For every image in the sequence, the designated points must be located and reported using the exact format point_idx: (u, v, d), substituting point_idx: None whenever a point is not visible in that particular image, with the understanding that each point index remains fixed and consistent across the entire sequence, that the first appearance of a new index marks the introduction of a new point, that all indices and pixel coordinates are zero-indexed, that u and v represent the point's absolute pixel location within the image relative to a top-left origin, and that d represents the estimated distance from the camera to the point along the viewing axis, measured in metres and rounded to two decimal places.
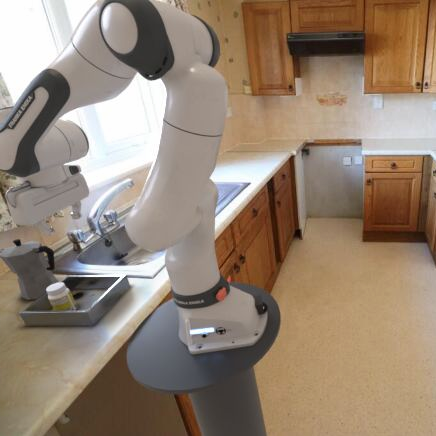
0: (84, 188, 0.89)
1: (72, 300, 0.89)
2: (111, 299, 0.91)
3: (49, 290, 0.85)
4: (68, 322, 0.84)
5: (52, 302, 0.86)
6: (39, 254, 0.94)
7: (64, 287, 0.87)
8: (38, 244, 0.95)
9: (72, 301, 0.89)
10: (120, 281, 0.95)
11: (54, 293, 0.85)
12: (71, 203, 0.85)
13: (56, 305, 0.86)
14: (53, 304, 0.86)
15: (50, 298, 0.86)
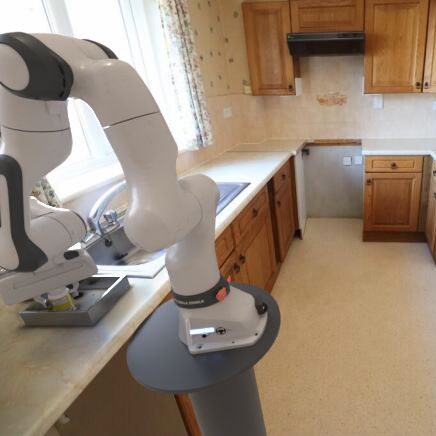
0: (90, 268, 0.90)
1: (72, 300, 0.89)
2: (111, 299, 0.91)
3: None
4: (68, 322, 0.84)
5: (52, 302, 0.86)
6: None
7: (64, 287, 0.87)
8: None
9: (72, 301, 0.89)
10: (120, 281, 0.95)
11: (54, 293, 0.85)
12: (68, 283, 0.87)
13: (56, 305, 0.86)
14: (53, 304, 0.86)
15: (50, 298, 0.86)
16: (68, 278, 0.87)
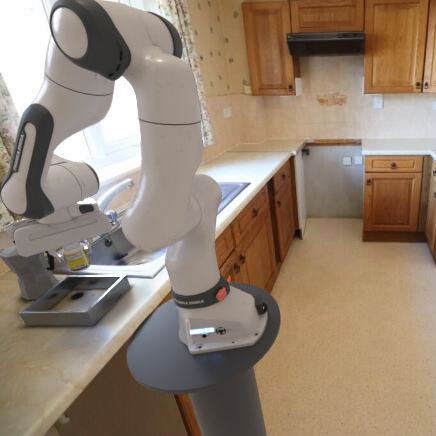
0: (104, 224, 0.89)
1: (86, 257, 0.89)
2: (111, 299, 0.91)
3: None
4: (68, 322, 0.84)
5: (66, 257, 0.86)
6: (39, 254, 0.94)
7: (78, 242, 0.87)
8: None
9: (86, 258, 0.89)
10: (120, 281, 0.95)
11: (69, 248, 0.85)
12: (82, 238, 0.87)
13: (70, 260, 0.86)
14: (67, 259, 0.86)
15: (65, 253, 0.85)
16: (83, 233, 0.86)
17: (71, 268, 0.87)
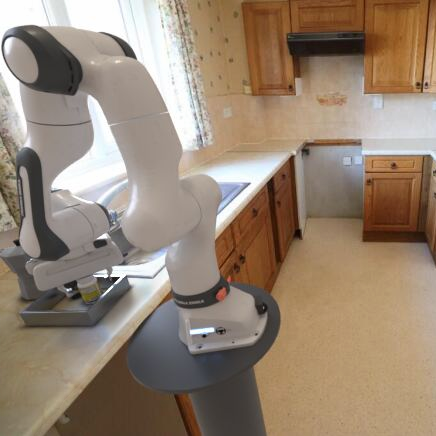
0: (116, 257, 0.94)
1: (99, 289, 0.94)
2: (111, 299, 0.91)
3: (79, 279, 0.90)
4: (68, 322, 0.84)
5: (81, 290, 0.90)
6: None
7: (92, 276, 0.92)
8: None
9: (99, 290, 0.94)
10: (120, 281, 0.95)
11: (84, 282, 0.90)
12: (96, 271, 0.91)
13: (85, 293, 0.91)
14: (82, 292, 0.91)
15: (80, 286, 0.90)
16: (96, 266, 0.91)
17: (85, 301, 0.92)
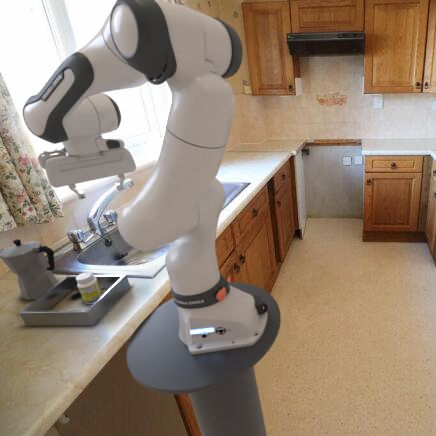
0: (129, 163, 0.92)
1: (99, 289, 0.94)
2: (111, 299, 0.91)
3: (79, 279, 0.90)
4: (68, 322, 0.84)
5: (81, 290, 0.90)
6: (39, 254, 0.94)
7: (92, 276, 0.92)
8: (38, 244, 0.95)
9: (99, 290, 0.94)
10: (120, 281, 0.95)
11: (84, 282, 0.90)
12: (108, 175, 0.89)
13: (85, 293, 0.91)
14: (82, 292, 0.91)
15: (79, 286, 0.90)
16: (109, 170, 0.89)
17: (85, 301, 0.92)
